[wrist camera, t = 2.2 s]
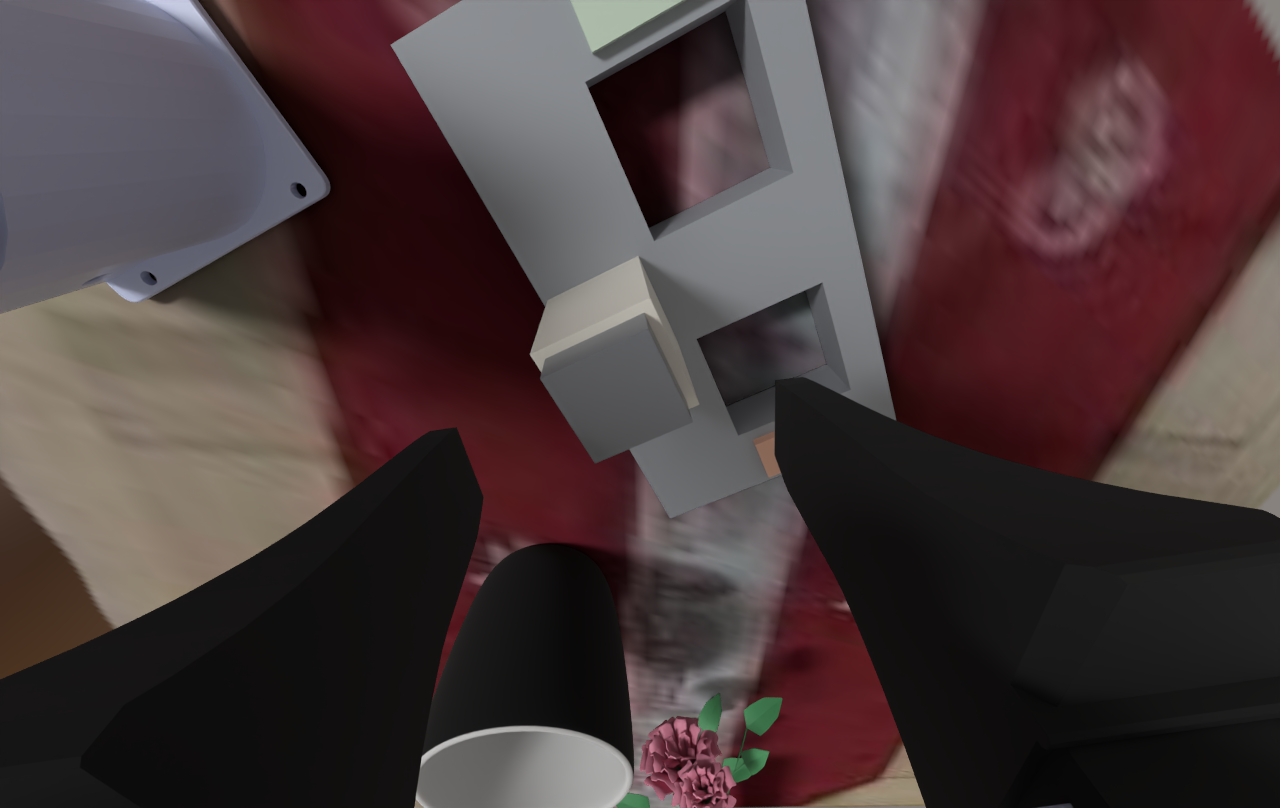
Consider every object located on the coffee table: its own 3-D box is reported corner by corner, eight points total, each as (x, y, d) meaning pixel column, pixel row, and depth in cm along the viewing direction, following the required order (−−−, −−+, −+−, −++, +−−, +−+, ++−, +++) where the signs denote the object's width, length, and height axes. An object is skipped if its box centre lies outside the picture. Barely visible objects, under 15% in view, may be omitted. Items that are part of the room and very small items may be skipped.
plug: (594, 379, 19) (590, 474, 14) (547, 300, 17) (523, 373, 12) (677, 342, 18) (707, 426, 13) (638, 255, 17) (654, 313, 11)
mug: (438, 557, 26) (356, 768, 18) (585, 503, 25) (575, 702, 17) (541, 669, 32) (518, 870, 24) (665, 630, 31) (689, 827, 22)
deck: (664, 484, 25) (671, 524, 22) (420, 56, 15) (385, 42, 13) (870, 401, 23) (903, 434, 21) (739, -138, 14) (769, -198, 11)
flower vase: (695, 745, 54) (575, 633, 30) (810, 761, 50) (775, 647, 26) (686, 893, 46) (512, 899, 22) (822, 926, 42) (785, 975, 18)
